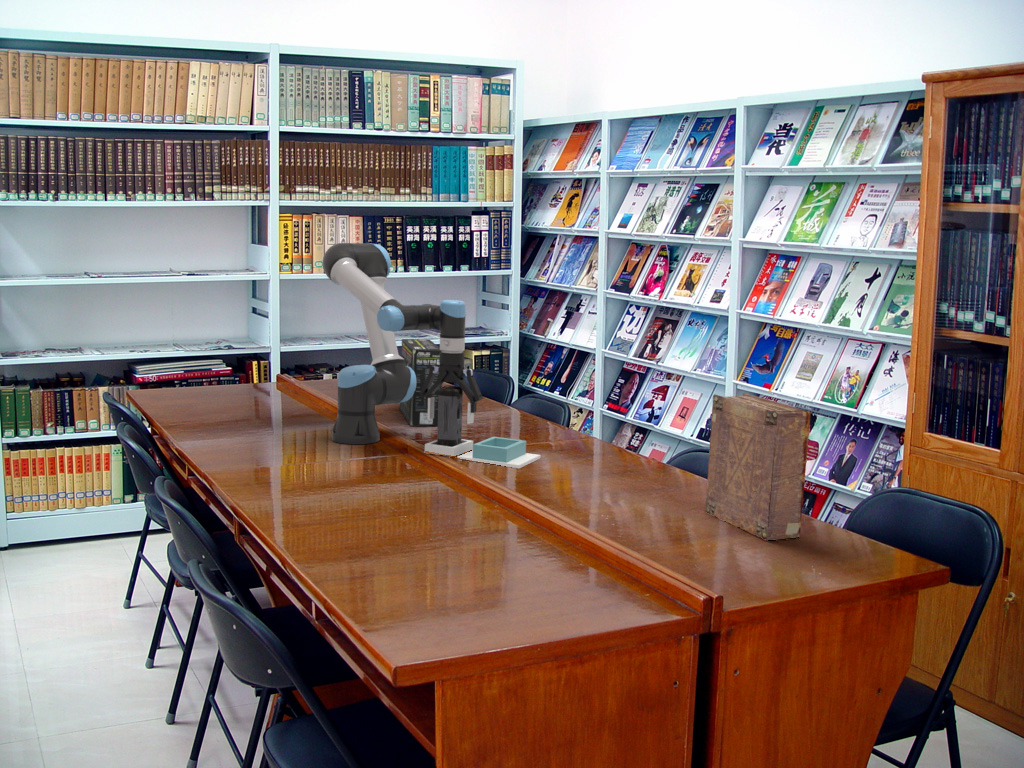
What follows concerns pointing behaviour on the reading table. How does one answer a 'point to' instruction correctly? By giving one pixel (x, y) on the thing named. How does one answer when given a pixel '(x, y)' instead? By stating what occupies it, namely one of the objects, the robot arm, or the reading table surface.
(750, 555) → the reading table surface
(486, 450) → the dock
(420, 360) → the router box
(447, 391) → the electronic device
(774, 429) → the book
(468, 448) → the white rectangular frame
